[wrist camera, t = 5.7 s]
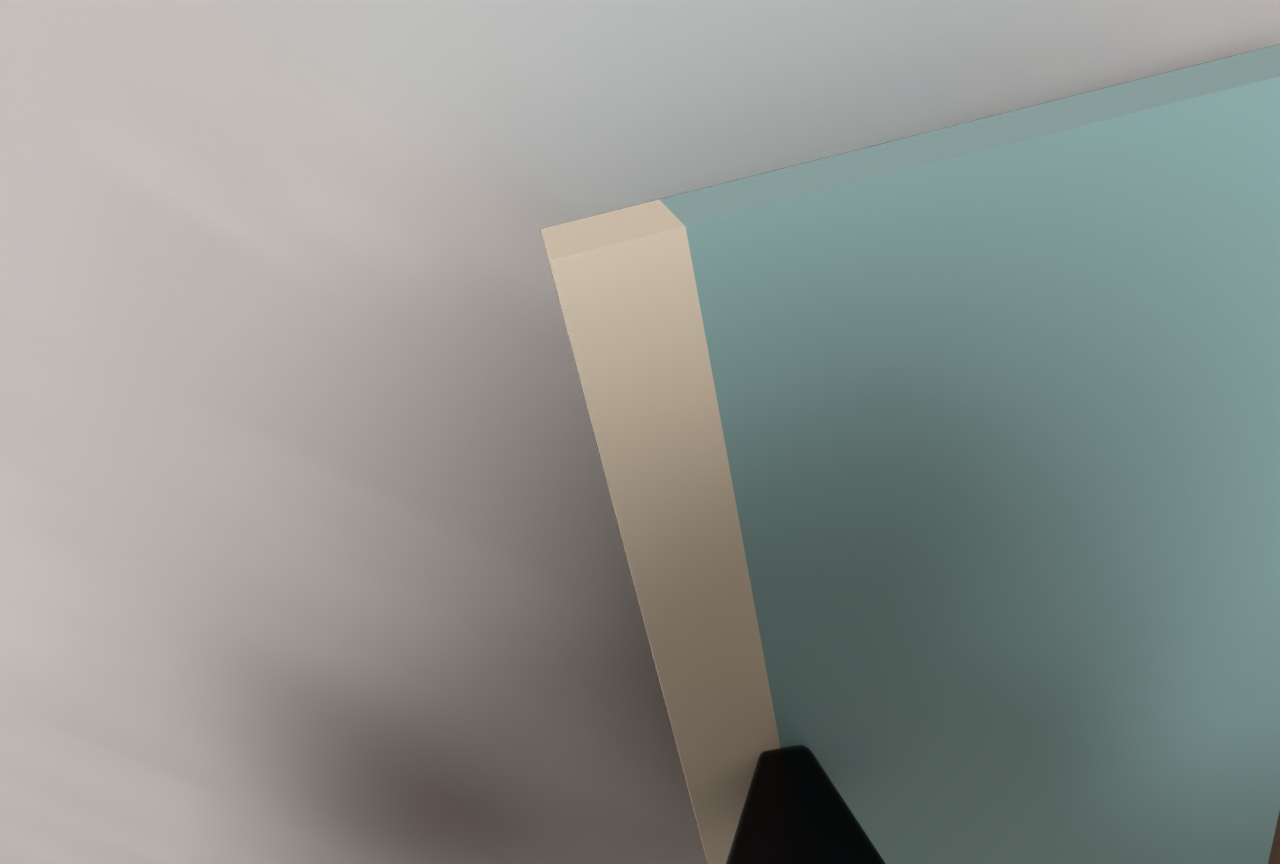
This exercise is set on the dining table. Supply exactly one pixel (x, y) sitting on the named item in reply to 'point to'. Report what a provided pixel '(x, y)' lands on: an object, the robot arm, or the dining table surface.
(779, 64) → the dining table surface
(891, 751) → the teal flat slab
